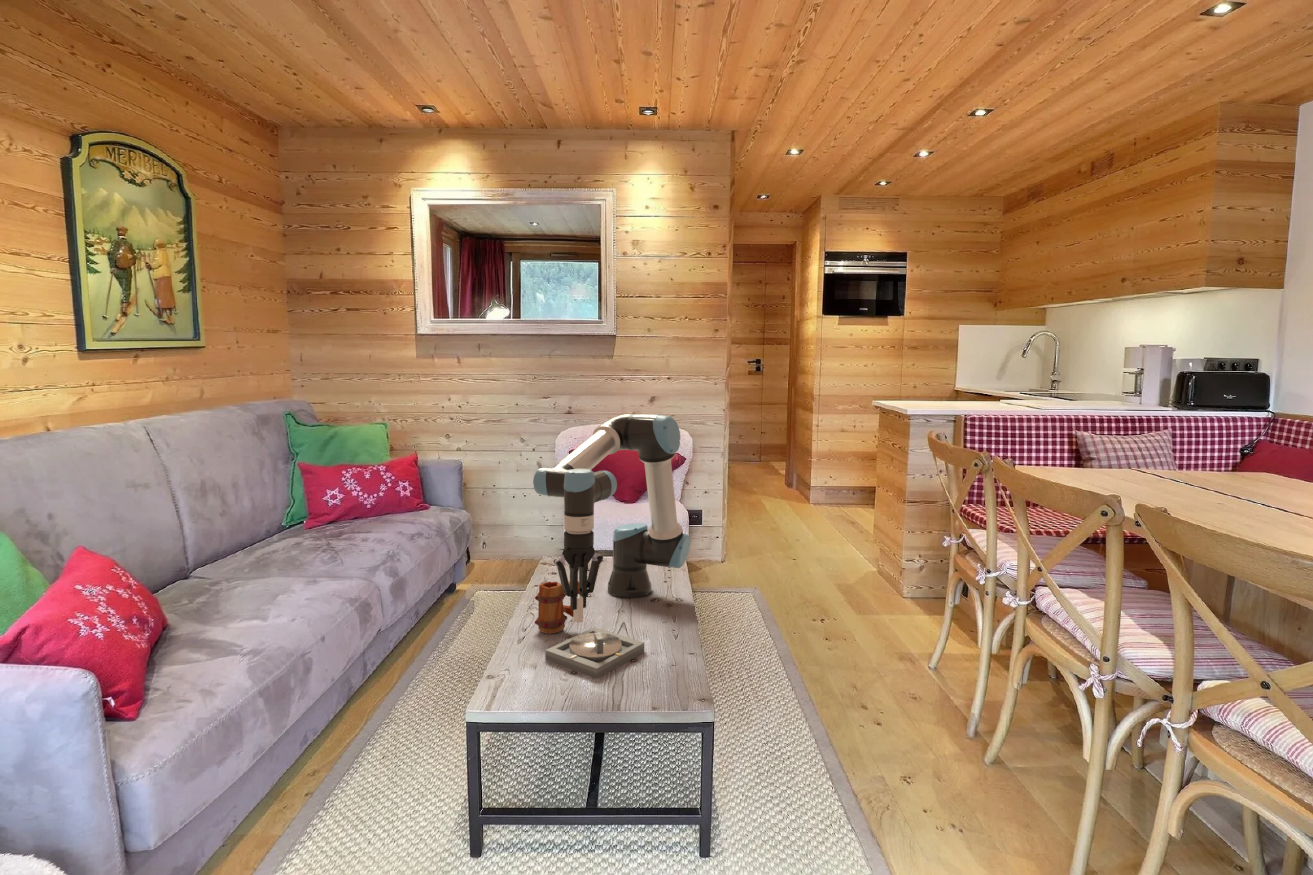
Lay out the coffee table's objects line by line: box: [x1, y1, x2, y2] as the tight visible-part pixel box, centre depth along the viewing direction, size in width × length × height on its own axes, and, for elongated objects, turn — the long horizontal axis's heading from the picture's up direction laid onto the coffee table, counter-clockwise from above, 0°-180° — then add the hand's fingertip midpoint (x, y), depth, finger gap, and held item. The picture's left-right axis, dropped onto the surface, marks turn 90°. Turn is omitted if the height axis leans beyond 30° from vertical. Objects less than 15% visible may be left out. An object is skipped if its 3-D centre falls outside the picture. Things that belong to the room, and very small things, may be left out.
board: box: [544, 626, 645, 680], centre depth 185 cm, size 20×18×3 cm
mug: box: [534, 580, 580, 635], centre depth 202 cm, size 15×8×15 cm, turn 105°
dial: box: [570, 632, 622, 662], centre depth 185 cm, size 14×14×6 cm
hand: (578, 620), depth 176 cm, fingers closed
